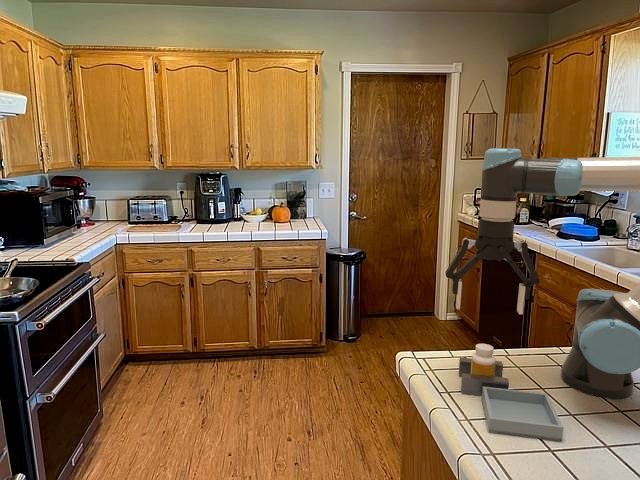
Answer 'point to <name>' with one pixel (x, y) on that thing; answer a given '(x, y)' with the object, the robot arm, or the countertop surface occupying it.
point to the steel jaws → (480, 378)
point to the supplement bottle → (483, 361)
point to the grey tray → (521, 414)
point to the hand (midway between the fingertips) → (488, 310)
